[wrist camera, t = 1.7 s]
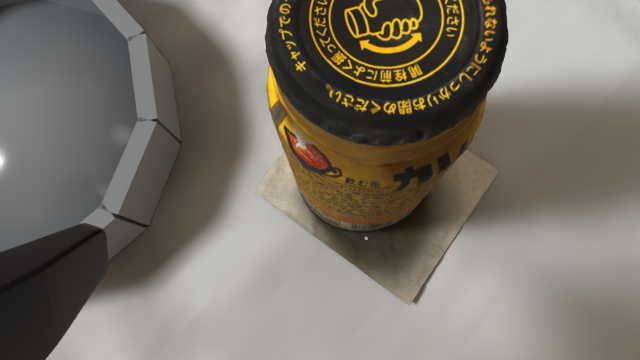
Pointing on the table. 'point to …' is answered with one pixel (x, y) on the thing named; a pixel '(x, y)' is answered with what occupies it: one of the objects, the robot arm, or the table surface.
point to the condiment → (381, 125)
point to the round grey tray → (81, 121)
